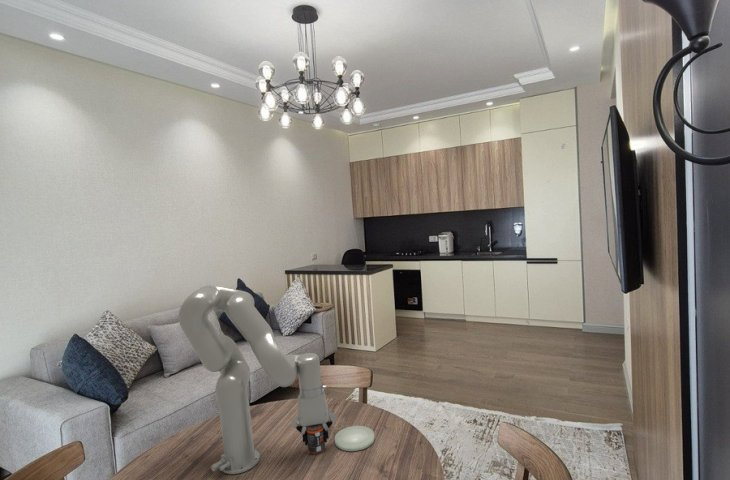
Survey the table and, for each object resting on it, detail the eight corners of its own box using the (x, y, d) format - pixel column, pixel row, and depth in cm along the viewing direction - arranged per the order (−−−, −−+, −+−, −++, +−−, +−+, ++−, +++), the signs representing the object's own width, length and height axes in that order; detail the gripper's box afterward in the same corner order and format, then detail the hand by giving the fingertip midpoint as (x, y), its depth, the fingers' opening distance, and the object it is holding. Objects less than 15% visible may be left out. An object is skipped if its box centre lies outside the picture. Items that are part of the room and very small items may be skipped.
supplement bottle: (324, 454, 134) (321, 422, 133) (306, 455, 134) (303, 423, 133) (326, 444, 140) (323, 413, 139) (309, 445, 140) (306, 414, 139)
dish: (358, 456, 131) (357, 451, 131) (326, 444, 140) (326, 440, 140) (382, 435, 142) (381, 431, 142) (351, 426, 151) (351, 422, 151)
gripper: (335, 382, 141) (340, 432, 142) (286, 389, 138) (291, 440, 139) (337, 391, 133) (342, 443, 134) (284, 399, 131) (290, 452, 132)
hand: (316, 441), depth 137 cm, fingers closed on supplement bottle, 6 cm apart
